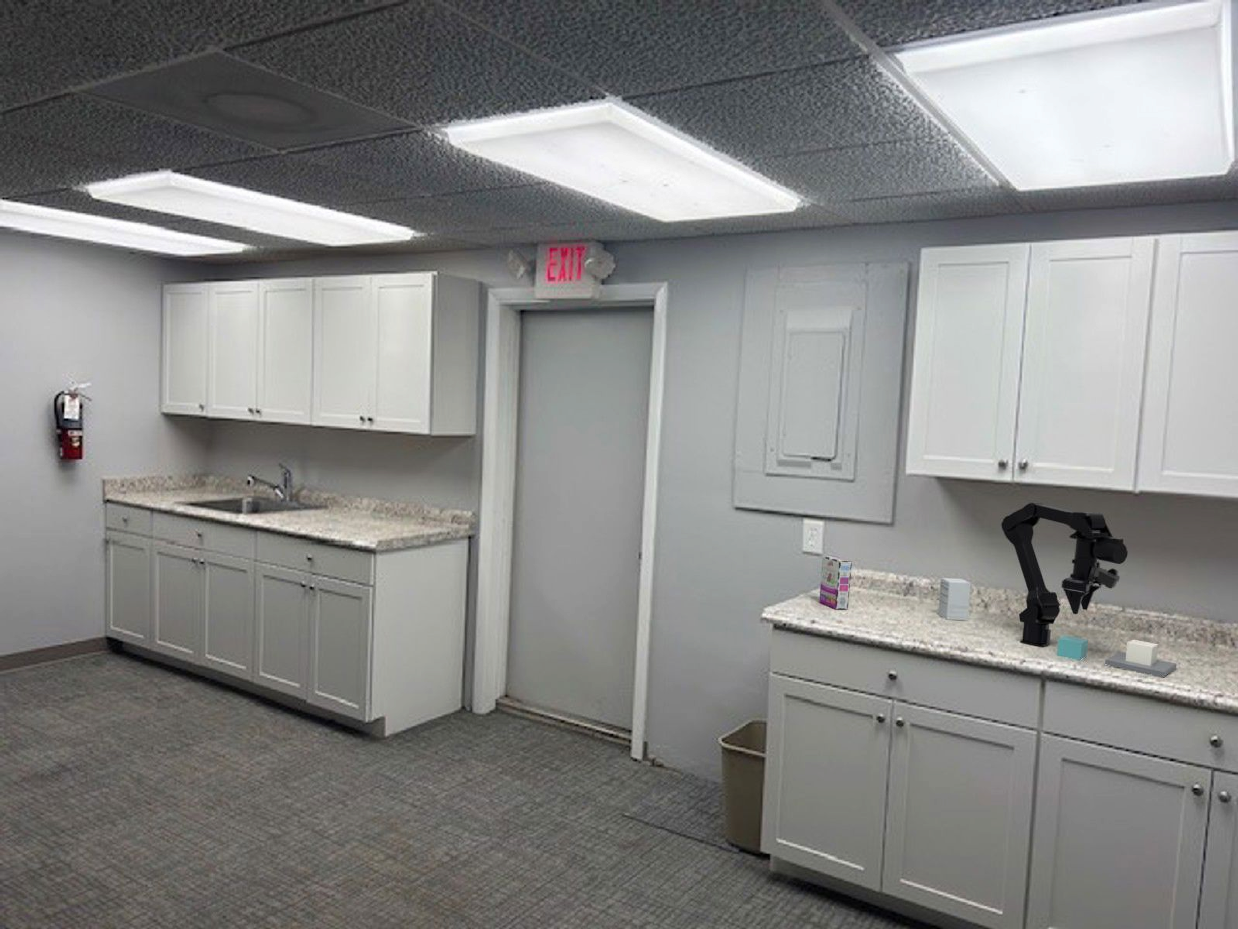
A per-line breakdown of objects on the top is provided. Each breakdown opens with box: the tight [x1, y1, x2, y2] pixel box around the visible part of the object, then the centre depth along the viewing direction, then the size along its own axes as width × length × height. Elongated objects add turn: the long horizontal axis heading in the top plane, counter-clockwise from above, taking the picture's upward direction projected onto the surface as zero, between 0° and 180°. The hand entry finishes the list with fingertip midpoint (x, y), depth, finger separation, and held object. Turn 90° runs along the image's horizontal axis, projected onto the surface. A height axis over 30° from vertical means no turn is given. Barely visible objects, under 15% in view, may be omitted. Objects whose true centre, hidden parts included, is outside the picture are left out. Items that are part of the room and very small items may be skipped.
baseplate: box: [1104, 651, 1178, 679], centre depth 241 cm, size 14×14×2 cm
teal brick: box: [1056, 635, 1089, 661], centre depth 248 cm, size 6×6×5 cm
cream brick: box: [1125, 639, 1159, 666], centre depth 241 cm, size 6×6×5 cm
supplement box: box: [937, 577, 972, 622], centre depth 290 cm, size 7×7×13 cm
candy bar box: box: [818, 555, 853, 611], centre depth 297 cm, size 11×5×16 cm, turn 17°
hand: (1080, 611), depth 247 cm, fingers open, 9 cm apart
